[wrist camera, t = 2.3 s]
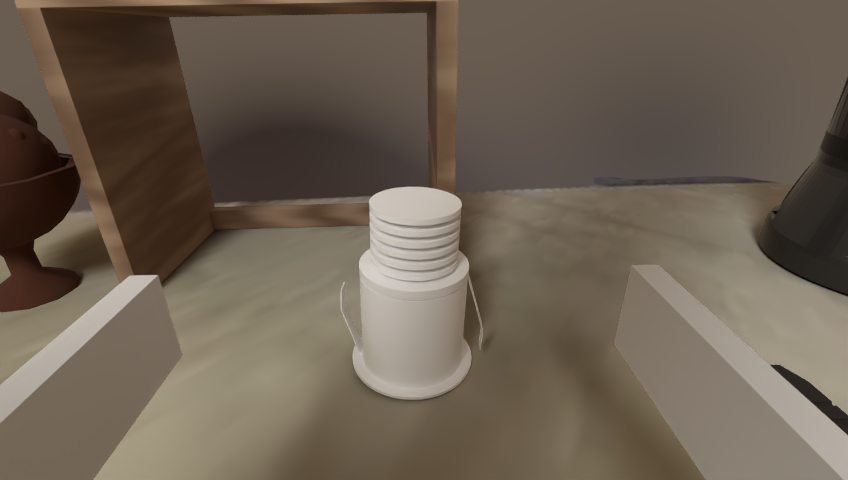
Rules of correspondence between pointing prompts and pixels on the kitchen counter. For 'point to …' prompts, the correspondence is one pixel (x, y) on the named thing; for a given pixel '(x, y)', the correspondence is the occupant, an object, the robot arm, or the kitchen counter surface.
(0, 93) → the ice cream bowl
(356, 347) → the downlight
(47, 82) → the counter shelf
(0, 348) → the kitchen counter surface
